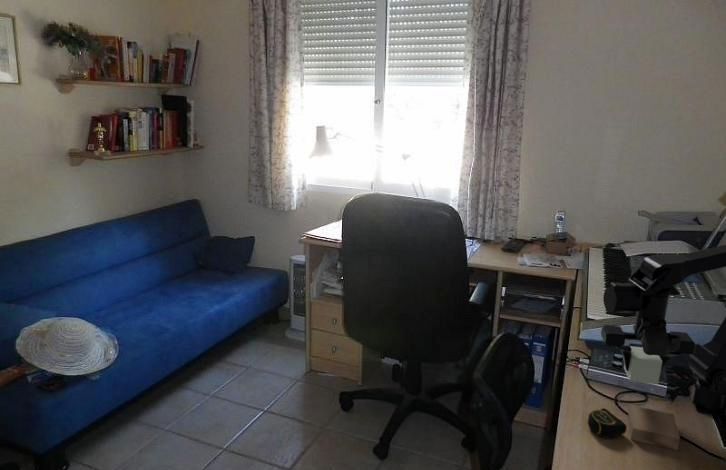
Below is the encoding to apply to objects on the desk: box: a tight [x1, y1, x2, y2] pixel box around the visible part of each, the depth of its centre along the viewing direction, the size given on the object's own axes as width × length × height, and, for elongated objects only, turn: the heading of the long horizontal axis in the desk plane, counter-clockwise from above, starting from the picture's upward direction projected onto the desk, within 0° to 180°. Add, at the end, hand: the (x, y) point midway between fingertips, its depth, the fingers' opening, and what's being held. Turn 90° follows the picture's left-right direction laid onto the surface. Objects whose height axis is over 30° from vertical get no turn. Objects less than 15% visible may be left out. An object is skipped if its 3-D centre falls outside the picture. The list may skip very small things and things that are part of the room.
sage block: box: [623, 345, 662, 385], centre depth 122 cm, size 6×6×6 cm
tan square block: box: [627, 405, 681, 451], centre depth 117 cm, size 9×9×3 cm
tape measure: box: [587, 407, 628, 439], centre depth 117 cm, size 7×7×4 cm
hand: (641, 371), depth 123 cm, fingers closed on sage block, 6 cm apart
